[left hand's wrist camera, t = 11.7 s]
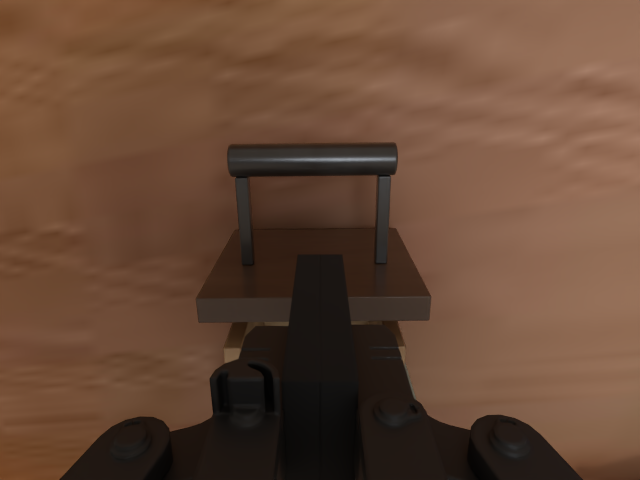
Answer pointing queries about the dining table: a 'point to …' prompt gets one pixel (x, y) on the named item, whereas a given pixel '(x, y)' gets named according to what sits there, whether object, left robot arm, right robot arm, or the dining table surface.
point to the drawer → (311, 247)
